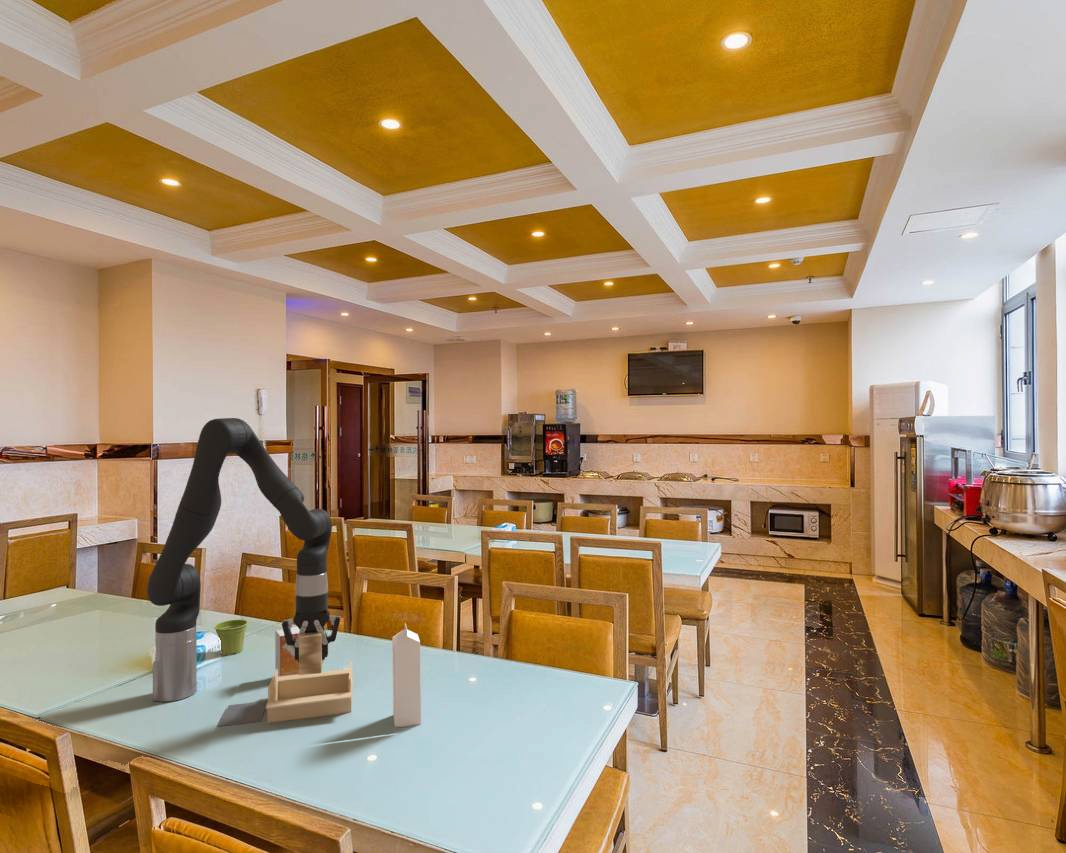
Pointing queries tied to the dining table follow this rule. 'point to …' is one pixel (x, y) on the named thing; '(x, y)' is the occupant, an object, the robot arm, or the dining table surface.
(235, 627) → the plant pot
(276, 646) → the small box
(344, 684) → the carton
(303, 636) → the block
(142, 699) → the dining table surface
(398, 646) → the milk
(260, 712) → the slate mat
